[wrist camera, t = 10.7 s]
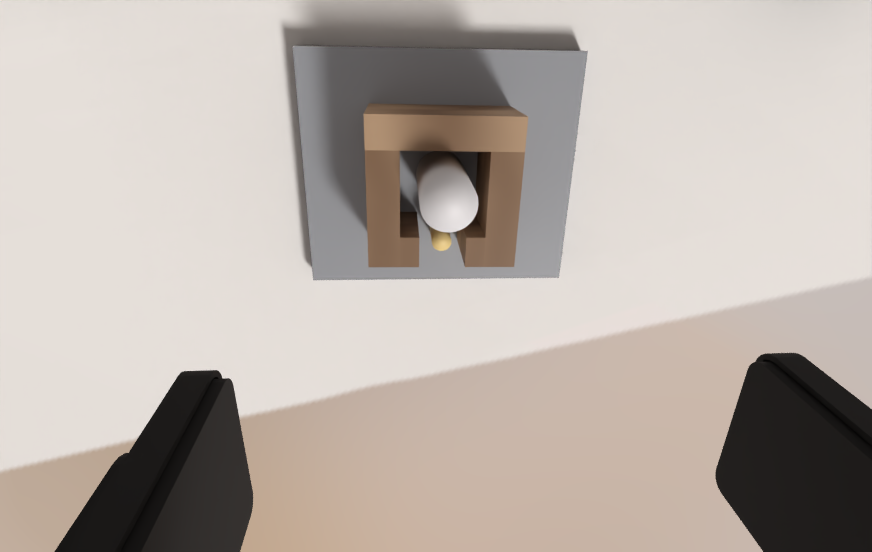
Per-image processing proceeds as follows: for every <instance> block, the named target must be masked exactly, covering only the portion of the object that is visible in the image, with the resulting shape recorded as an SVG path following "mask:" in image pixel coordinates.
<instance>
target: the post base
mask: <svg viewBox="0 0 872 552" xmlns="http://www.w3.org/2000/svg"><path fill="white" fill-rule="evenodd" d="M587 53H588V51H566V50H512V49H458V48H404V47H350V46H293V57H294V68H295V80H296V91H297V102H298V113H299V125H300V136H301V147H302V158H303V170H304V181H305V192H306V204H307V215H308V226H309V237H310V249H311V260H312V271H313V280H373V279H471V278H559V272H560V264H561V257H562V249H563V241H564V233H565V225H566V217H567V210H568V202H569V194H570V186H571V178H572V170H573V162H574V155H575V147H576V139H577V131H578V123H579V115H580V107H581V100H582V92H583V84H584V76H585V68H586V60H587ZM369 103H373V104H428V105H482V106H511V107H513V108H515V109H516V110H518V111H520V112H521V113H523V114H525V115H526V116H528V126H527V137H526V148H525V158H524V169H523V179H522V190H521V200H520V211H519V222H518V232H517V243H516V253H515V264H514V267H465V266H464V262H463V259H462V255H461V252H460V248H459V245H458V241H457V231H459V230H461V229H463V228H465V227H466V226H468V225H469V224H470V223H471V222H472V220H473V219H474V217H475V216H476V213H477V210H478V196H477V193H476V175H477V157H478V152H470V151H400V212H417V218H418V228H419V267H368V237H367V206H366V175H365V145H364V112H365V110H366V108H367V106H368V104H369Z"/></svg>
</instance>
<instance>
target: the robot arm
mask: <svg viewBox="0 0 872 552" xmlns="http://www.w3.org/2000/svg"><path fill="white" fill-rule="evenodd" d="M716 482H717V485H718V488H719V489H720V492H721V493H722V495H723V496H724V497H725V499H726V500H727V502H728V503H729V504H730V506H731V507H732V508H733V510H734V511H735V513H736V514H737V515H738V517H739V518H740V520H741V521H742V522H743V524H744V525H745V527H746V528H747V529H748V531H749V532H750V533H751V535H752V536H753V538H754V539H755V541H756V542H757V543H758V545H759V546H760V547H761V549H762V550H763V552H872V409H870V408H869V407H868V406H867V405H865V404H864V403H863V402H861V401H860V400H859V399H858V398H856V397H855V396H854V395H852V394H851V393H850V392H848V391H847V390H846V389H845V388H843V387H842V386H841V385H839V384H838V383H837V382H836V381H834V380H833V379H832V378H831V377H829V376H828V375H827V374H825V373H824V372H823V371H821V370H820V369H819V368H818V367H816V366H815V365H814V364H812V363H811V362H810V361H809V360H807V359H806V358H805V357H803V356H802V355H800V354H796V353H774V354H773V353H772V354H763V355H761V356H760V357H758V358H757V360H756V362H754V363H752V364H751V365H750V366H749V368H748V371H747V374H746V377H745V380H744V383H743V386H742V390H741V393H740V396H739V399H738V402H737V405H736V409H735V412H734V415H733V418H732V421H731V424H730V427H729V431H728V434H727V437H726V440H725V443H724V446H723V449H722V453H721V456H720V459H719V462H718V465H717V468H716ZM252 507H253V491H252V486H251V480H250V475H249V469H248V464H247V458H246V453H245V448H244V442H243V436H242V431H241V425H240V420H239V414H238V409H237V404H236V398H235V393H234V387H233V383H232V381H231V379H229V378H227V379H222V376H221V374H220V372H219V371H217V370H211V371H184V372H181V373H180V374H179V376H178V377H177V379H176V380H175V382H174V383H173V385H172V386H171V388H170V389H169V391H168V393H167V394H166V396H165V397H164V399H163V400H162V402H161V403H160V405H159V407H158V408H157V410H156V411H155V413H154V414H153V416H152V417H151V419H150V421H149V422H148V424H147V425H146V427H145V428H144V430H143V431H142V433H141V435H140V436H139V438H138V439H137V441H136V442H135V444H134V445H133V447H132V449H131V450H130V452H129V453H125V454H123V455H121V456H120V457H118V459H117V460H116V461H115V462H114V464H113V465H112V466H111V468H110V469H109V470H108V472H107V474H106V475H105V476H104V478H103V479H102V481H101V483H100V484H99V486H98V487H97V489H96V490H95V492H94V493H93V495H92V496H91V498H90V499H89V501H88V502H87V504H86V505H85V507H84V508H83V510H82V511H81V513H80V514H79V516H78V517H77V519H76V520H75V522H74V523H73V525H72V526H71V528H70V529H69V531H68V532H67V534H66V535H65V537H64V538H63V540H62V541H61V543H60V544H59V546H58V548H57V549H56V550H55V552H240V550H241V546H242V543H243V540H244V536H245V533H246V530H247V527H248V523H249V520H250V517H251V513H252Z"/></svg>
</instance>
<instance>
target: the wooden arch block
mask: <svg viewBox="0 0 872 552" xmlns="http://www.w3.org/2000/svg"><path fill="white" fill-rule="evenodd" d="M527 126H528V116H526V115H525V114H523V113H521V112H520V111H518V110H516V109H515V108H513V107H511V106H482V105H428V104H373V103H369V104H368V106H367V108H366V110H365V112H364V145H365V175H366V206H367V237H368V267H419V228H418V218H417V212H400V151H470V152H478V157H477V175H476V193H477V196H478V210H477V213H476V216H475V217H474V219H473V220H472V222H471V223H470V224H469V225H468V226H466V227H465V228H463V229H461V230H459V231H457V241H458V245H459V248H460V252H461V255H462V259H463V262H464V266H465V267H514V264H515V253H516V243H517V232H518V222H519V211H520V200H521V190H522V179H523V169H524V158H525V148H526V137H527Z"/></svg>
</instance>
